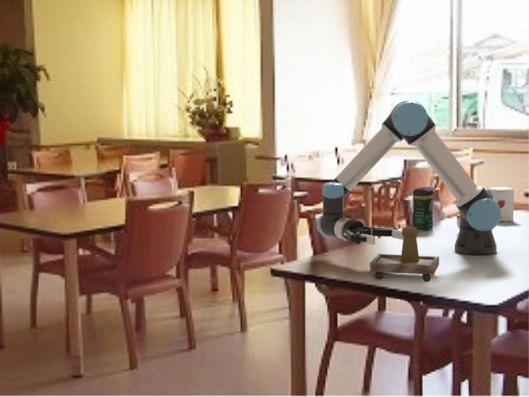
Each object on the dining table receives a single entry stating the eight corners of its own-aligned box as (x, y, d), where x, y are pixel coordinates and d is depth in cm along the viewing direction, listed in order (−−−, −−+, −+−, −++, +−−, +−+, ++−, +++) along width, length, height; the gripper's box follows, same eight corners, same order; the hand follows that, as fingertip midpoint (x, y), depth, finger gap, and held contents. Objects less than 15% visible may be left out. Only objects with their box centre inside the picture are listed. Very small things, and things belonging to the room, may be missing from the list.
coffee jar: (427, 231, 349) (427, 188, 347) (410, 230, 353) (410, 187, 351) (435, 228, 357) (435, 186, 355) (418, 227, 361) (418, 185, 359)
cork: (398, 258, 270) (398, 225, 269) (417, 258, 270) (417, 225, 269) (402, 262, 264) (402, 228, 263) (421, 261, 264) (421, 228, 263)
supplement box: (495, 222, 370) (495, 189, 368) (486, 219, 378) (486, 187, 376) (514, 221, 371) (514, 188, 369) (504, 218, 380) (504, 186, 378)
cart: (438, 273, 269) (439, 256, 268) (433, 283, 255) (433, 265, 254) (378, 270, 275) (378, 254, 275) (370, 280, 261) (370, 263, 260)
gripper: (377, 236, 294) (418, 245, 277) (321, 244, 281) (360, 254, 263) (377, 215, 293) (418, 223, 276) (321, 223, 280) (360, 231, 262)
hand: (390, 238), depth 269 cm, fingers open, 13 cm apart
